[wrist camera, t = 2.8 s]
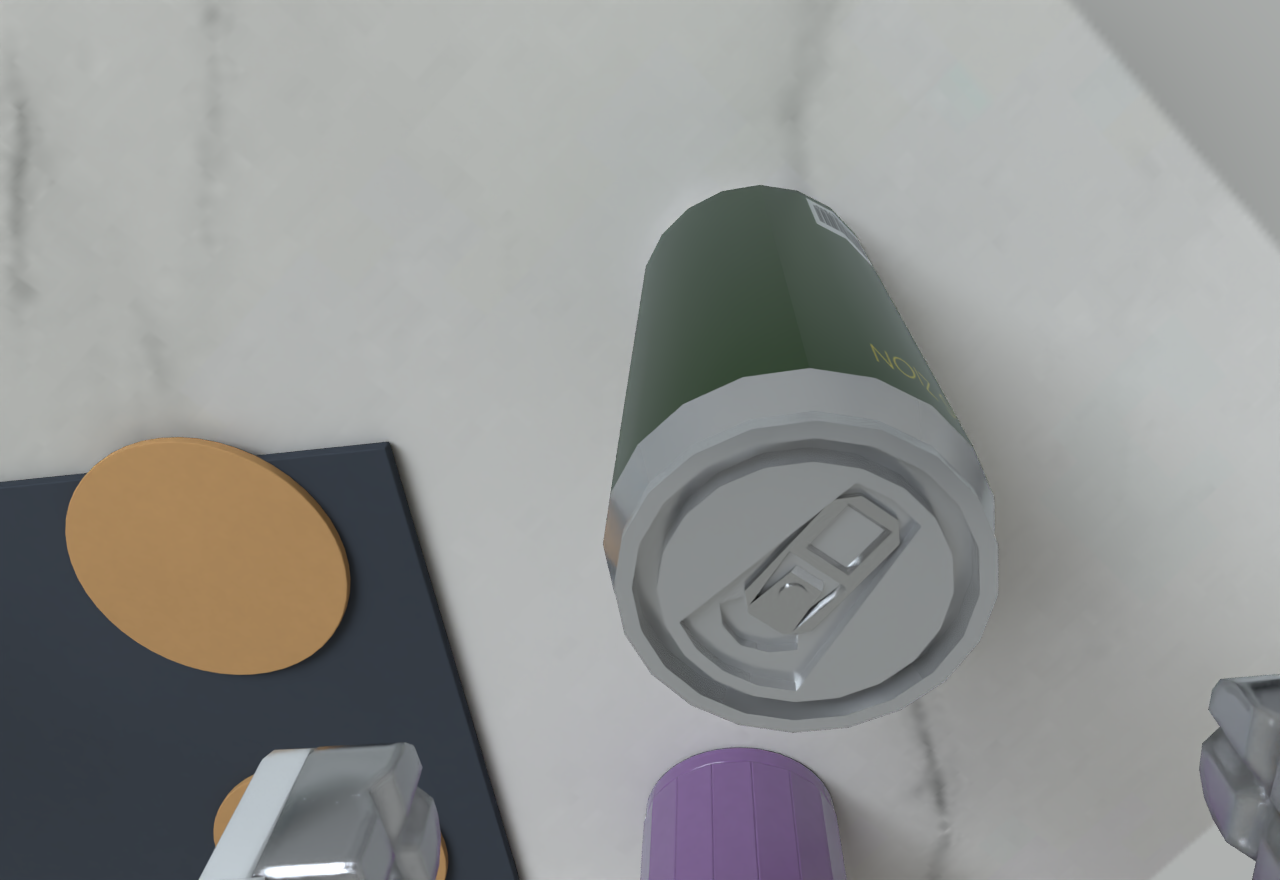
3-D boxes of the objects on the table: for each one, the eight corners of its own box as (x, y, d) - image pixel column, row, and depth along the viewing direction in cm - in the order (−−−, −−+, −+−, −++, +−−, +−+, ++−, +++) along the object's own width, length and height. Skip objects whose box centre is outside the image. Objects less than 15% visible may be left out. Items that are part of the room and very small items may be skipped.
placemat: (379, 407, 25) (371, 419, 24) (527, 905, 34) (524, 923, 33) (-287, 479, 27) (-310, 492, 26) (19, 928, 36) (7, 945, 35)
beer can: (732, 129, 21) (771, 315, 10) (913, 266, 22) (1112, 557, 12) (599, 313, 23) (518, 622, 13) (771, 429, 24) (828, 798, 14)
